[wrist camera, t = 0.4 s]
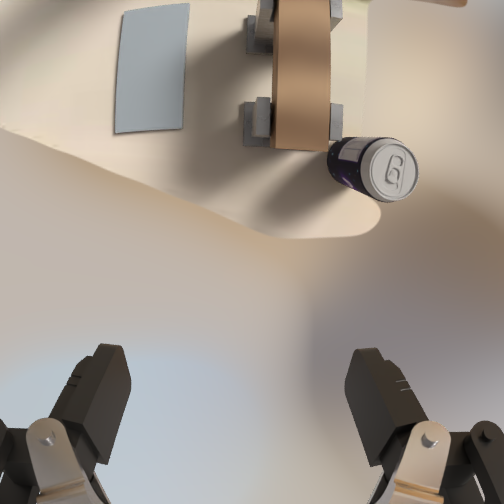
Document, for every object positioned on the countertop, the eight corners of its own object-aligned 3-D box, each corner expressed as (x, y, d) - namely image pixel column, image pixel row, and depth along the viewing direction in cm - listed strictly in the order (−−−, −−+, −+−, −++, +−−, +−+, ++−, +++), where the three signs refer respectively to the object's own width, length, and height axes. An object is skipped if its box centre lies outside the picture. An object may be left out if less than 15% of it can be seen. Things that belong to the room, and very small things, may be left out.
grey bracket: (244, 102, 31) (246, 84, 21) (319, 107, 32) (352, 94, 21) (243, 145, 33) (245, 147, 23) (317, 149, 33) (350, 153, 23)
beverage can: (319, 176, 34) (356, 194, 23) (331, 130, 33) (375, 127, 21) (362, 190, 35) (411, 213, 24) (374, 146, 33) (429, 152, 22)
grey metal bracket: (247, 17, 27) (251, -28, 17) (319, 23, 28) (349, -15, 17) (246, 53, 29) (249, 17, 19) (319, 59, 30) (352, 29, 19)
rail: (274, -12, 20) (279, -32, 16) (317, -7, 20) (327, -25, 16) (270, 147, 25) (275, 148, 22) (315, 150, 26) (327, 151, 22)
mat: (125, 12, 26) (124, 11, 25) (189, 4, 26) (189, 2, 26) (117, 133, 31) (115, 133, 31) (182, 128, 32) (181, 128, 31)
